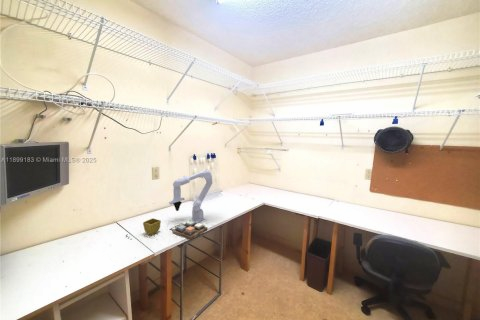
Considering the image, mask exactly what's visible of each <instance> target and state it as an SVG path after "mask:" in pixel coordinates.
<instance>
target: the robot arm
mask: <svg viewBox="0 0 480 320" xmlns="http://www.w3.org/2000/svg"><path fill="white" fill-rule="evenodd" d="M198 178H201V179H202V178H203V179H204V180H205V182H206V183H205V184H204V186H203V188H202V189H201V191H200V193H199V195H198V197H197V198H196V200H195V201H193V203H192V209H191V219H190V220H189V221H193V222H195V223H197V224H198V223H200V222H201V221H203V220H205V218H204V210H203V209H202V208H201V206H202V203H203V201H204V199H205V198H206V196H207V193H208V192H209V190H210V188H211V187H212V185H213V175H212V172H211V171H210V169H209V170H208V169H205V170H202V171H198V172H197V173H195V174H192V175H190V176H188V175H186V176H185V175H184V176H183V177H181V178H177V179H175V180H174V181H173V183H172V186H173V199H172V200H170V201H169V205H173V207H174V208H175V211H176V212H179V211H180V208H181V207H180V206H181V205H182V201H185V197H182V188H181V186H184V185H187V184H189V183H190V182H191V181H193V180H195V179H198Z"/></svg>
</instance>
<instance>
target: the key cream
mask: <svg viewBox="0 0 480 320" xmlns="http://www.w3.org/2000/svg"><path fill="white" fill-rule="evenodd" d="M203 225H204V224H201V223H200V222H198V223H197V224H196V225H194V227H197V228H200V227H202V226H203Z"/></svg>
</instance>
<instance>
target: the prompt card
mask: <svg viewBox="0 0 480 320" xmlns="http://www.w3.org/2000/svg"><path fill="white" fill-rule="evenodd" d="M184 224H185V223H182V222H181V223H179V224H177V225H175V226H173V227H170V228H169V231H173V230H175V229H176V228H178V227H179V226H181V225H184Z"/></svg>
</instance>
